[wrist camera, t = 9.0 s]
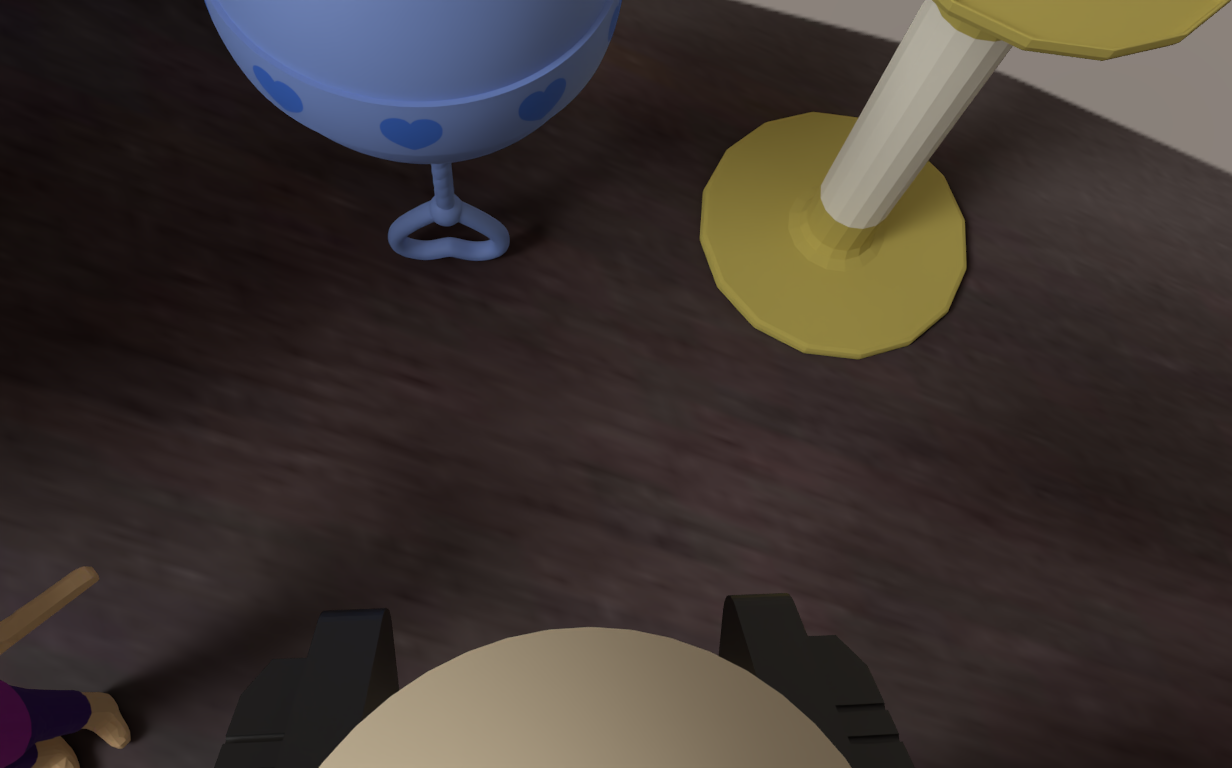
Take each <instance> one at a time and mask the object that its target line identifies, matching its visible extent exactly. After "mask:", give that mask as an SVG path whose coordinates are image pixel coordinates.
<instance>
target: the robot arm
mask: <svg viewBox="0 0 1232 768" xmlns="http://www.w3.org/2000/svg"><path fill="white" fill-rule="evenodd" d="M719 657H721V658H723V659H725V660H727V661H729V662H731V663H733V664H735V665H737V666H739V667H741V668H743V669H745V670H747V671H748V672H750V673H751V674H753V675H754V676H756V677H757V678H759V679H760V680H762V681H763V682H764V683H766V684H767V685H769V686H770V687H772V688H773V689H775V690H776V691H778V692H779V693H780V694H782V695H783V696H784V697H785V698H787V699H788V700H789V701H790V702H791V703H792V704H793V705H794V706H796V707H797V708H798V709H799V710H800V711H801V712H802V713H803V714H805V715H806V716H807V717H808V718H809V719H810V720H811V721H812V722H814V723H815V724H816V725H817V727H818V728H819V729H820V730H821V731H822V732H823V733H824V735H825V736H826V737H827V738H828V739H829V740H830V741H831V743H832V744H833V745H834V746H835V747H836V748H837V749H838V751H839V752H840V753H841V754H842V755H843V756H844V757H845V759H846V760H847V762H848V763H849V765H850V766H851V767H852V768H914V765H913V763H912V761H911V759H910V757H909V755H908V752H907V750H906V748H905V746H904V744H903V742H900V740H899V733H898V731H897V729H896V727H895V724H894V722H893V720H892V718H891V716H890V714H889V711H888V710H885V706H884V701H883V698H882V696H881V694H880V692H879V690H878V688H877V686H876V683H875V681H874V679H873V677H872V675H871V673H870V670H869V668H868V666H867V665H866V664H865V663H864V662H863V661H862V660H861V659H860V658H859V657H858V656H857V655H856V654H855V653H854V652H853V651H852V650H850V649H849V648H848V647H847V646H846V645H845V644H844V643H843V642H842V641H841V640H840V639H839V638H838V637H837V636H836V635H828V636H807V633H806V631H805V628H804V626H803V623H802V621H801V618H800V616H799V613H798V611H797V608H796V606H795V603H794V601H793V599H792V597H791V596H790V595H789V594H787V593H778V594H753V595H729V596H727V597H726V599H725V602H724V608H723V617H722V627H721V637H720V647H719ZM398 691H399V685H398V676H397V667H396V657H395V648H394V639H393V630H392V621H391V616H390V612H389V610H388V609H387V608H380V609H355V610H330V611H323V612H322V613H321V615H320V617H319V619H318V622H317V626H316V629H315V632H314V636H313V639H312V643H311V646H310V649H309V653H308V656H307V658H290V659H272V661H271V662H270V663H269V664H268V665H267V666H266V667H265V668H264V670H263V671H262V672H261V673H260V674H259V675H258V676H257V677H256V678H255V680H254V681H253V682H252V683H251V684H250V685H249V686H248V687H247V689H246V690H245V691H244V692H243V693H242V694H241V696H240V698H239V701H238V704H237V707H236V709H235V712H234V715H233V718H232V720H231V723H230V726H229V728H228V731H227V734H226V743H225V744H223V745H222V748H221V750H220V753H219V756H218V759H217V761H216V764H215V767H214V768H319V767H320V765H321V764H322V763H323V762H324V760H325V759H326V758H327V757H328V756H329V755H330V754H331V753H332V752H333V751H334V750H335V748H336V747H337V746H338V745H339V744H340V743H341V742H342V741H343V740H344V739H345V737H346V736H347V735H348V734H349V733H350V732H351V731H352V730H353V729H354V728H355V727H356V726H357V725H358V724H359V723H360V722H361V721H363V720H364V719H365V718H366V717H367V716H368V715H370V714H371V713H372V712H373V711H374V710H375V709H377V708H378V707H379V706H380V705H381V704H382V703H384V702H385V701H386V700H387V699H388V698H389V697H391V696H392V695H394V694H395V693H397V692H398Z"/></svg>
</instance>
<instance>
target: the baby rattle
mask: <svg viewBox="0 0 1232 768" xmlns="http://www.w3.org/2000/svg"><path fill="white" fill-rule="evenodd" d="M204 1H205V3H206V6H207V9H208V11H209V14H210V16H211V18H212V21H213V23H214V25H215V27H216V29H217V31H218V33H219V35H220V37H221V39H222V40H223V42H224V44H225V46H226V47H227V49H228V51H229V52H230V54H231V55H232V57H233V58H234V60H235V61H236V63H237V64H238V66H239V67H240V68H241V70H242V71H243V72H244V74H245V75H246V76H247V78H248V79H249V80H250V81H251V82H252V84H253V85H254V86H255V87H256V88H257V89H258V90H259V91H260V92H261V93H262V94H263V95H264V96H265V97H266V98H267V99H268V100H269V101H271V102H272V103H273V104H274V105H275V106H277V107H278V108H279V109H280V110H282V111H283V112H284V113H286V114H287V115H289V116H290V117H292V118H293V119H295V120H296V121H298V122H300V123H301V124H303V125H305V126H306V127H308V128H310V129H312V130H314V131H316V132H318V133H320V134H322V135H323V136H325V137H327V138H329V139H331V140H333V141H335V142H337V143H339V144H341V145H343V146H345V147H348V148H350V149H353V150H355V151H358V152H361V153H363V154H367V155H370V156H373V157H377V158H381V159H386V160H390V161H396V162H403V163H412V164H431V166H432V168H431V169H432V175H433V184H434V193H435V196H434V197H433V198H432V199H431V200H430V201H428V202H426V203H424V204H422V205H419V206H417V207H415V208H414V209H412V210H410V211H408V212H407V213H405V214H403V215H402V216H400V217H399V218H398V219H396V220H395V221H394V222H393V223H392V225H391V226H390V228H389V231H388V241H389V244H390V246H391V248H392V249H393V250H394V251H395V252H396V253H398V254H400V255H402V256H405V257H408V258H412V259H418V260H434V259H440V258H445V257H455V258H459V259H464V260H470V261H484V260H491V259H494V258H497V257H500V256H501V255H503V254H504V253H505V252H506V251H507V249H508V247H509V243H510V238H509V233H508V231H507V229H506V228H505V226H504V225H503V224H502V223H500V222H499V221H498V220H496V219H495V218H493V217H492V216H490V215H488V214H487V213H485V212H483V211H481V210H479V209H477V208H475V207H473V206H471V205H469V204H467V203H465V202H462V201H461V200H460V199H459V198H458V197H457V196H456V195H455V194H454V187H453V177H452V166H451V163H453V162H459V161H465V160H470V159H474V158H478V157H481V156H484V155H487V154H490V153H493V152H496V151H498V150H501V149H503V148H505V147H507V146H510V145H512V144H513V143H515V142H517V141H519V140H521V139H522V138H524V137H526V136H527V135H529V134H530V133H532V132H533V131H535V130H536V129H538V128H539V127H540V126H542V125H543V124H544V123H545V122H547V121H548V120H549V119H550V118H551V117H553V116H554V115H556V114H557V113H558V112H559V111H561V110H562V109H563V108H564V107H565V106H567V105H568V104H569V103H570V102H571V101H572V100H573V99H574V98H575V97H576V96H577V95H578V94H579V93H580V92H581V91H582V89H583V88H584V87H585V86H586V84H587V83H588V82H589V80H590V79H591V78H592V76H593V75H594V73H595V72H596V70H597V68H598V66H599V65H600V63H601V61H602V59H603V57H604V55H605V53H606V50H607V48H608V46H609V43H610V41H611V38H612V35H613V32H614V30H615V26H616V23H617V19H618V16H619V12H620V7H621V3H622V0H204ZM433 222H436V223H437V224H439V225H441V226H452V225H455V224H456V223H458V222H459V223H461V224H464V225H466V226H468V227H470V228H472V229H474V230H476V231H478V232H480V233H482V234H483V235H485V236H487V237H488V238H490V240H487V241H479V242H476V241H467V240H463V239H459V238H454V237H446V238H440V239H436V240H428V241H424V240H416V239H412V238H409V237H407V236H408V235H410V234H411V233H413V232H415V231H416V230H418V229H420V228H422V227H424V226H426V225H428V224H430V223H433Z"/></svg>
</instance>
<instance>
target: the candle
mask: <svg viewBox="0 0 1232 768" xmlns="http://www.w3.org/2000/svg"><path fill="white" fill-rule="evenodd" d="M1230 1H1231V0H924V2H923V4H922V5H921V7H920V9H919V11H918V12H917V14H916V16H915V18H914V20H913V21H912V23H911V25H910V27H909V29H908V30H907V32H906V34H905V36H904V38H903V39H902V41H901V43H900V45H899V46H898V48H897V50H896V52H895V53H894V55H893V57H892V59H891V61H890V62H889V64H888V66H887V68H886V70H885V71H884V73H883V75H882V77H881V78H880V80H879V82H878V84H877V86H876V87H875V89H874V91H873V93H872V95H871V96H870V98H869V100H868V102H867V103H866V105H865V107H864V109H863V111H862V112H861V114H860V116H859V118H858V117H850V116H842V115H834V114H827V113H819V112H809V113H805V114H800V115H796V116H791V117H787V118H782V119H778V120H774V121H769V122H765V123H764V124H762V125H761V126H760V127H758V128H757V129H755V130H754V131H752V132H751V133H750V134H748V135H747V136H745V137H744V138H743V139H741V140H740V141H738V142H737V143H735V144H734V145H733V146H731V147H730V148H728V149H727V150H726V152H725V153H724V155H723V157H722V159H721V160H720V162H719V164H718V166H717V167H716V169H715V171H714V173H713V174H712V176H711V178H710V180H709V181H708V183H707V185H706V186H705V188H704V190H703V197H702V212H701V226H700V242H701V245H702V247H703V250H704V253H705V255H706V258H707V261H708V264H709V266H710V269H711V272H712V274H713V277H714V280H715V282H716V285H717V287H718V289H719V290H720V291H721V292H722V293H723V294H724V295H725V296H726V297H727V298H728V300H729V301H730V302H731V303H732V304H733V305H734V306H735V307H736V308H737V309H738V311H739V312H740V313H741V314H742V315H743V316H744V317H745V318H746V319H747V320H748V322H749V323H750V324H751V325H752V326H753V327H754V328H756V329H758V330H760V331H762V332H764V333H766V334H768V335H770V336H772V337H774V338H775V339H777V340H779V341H781V342H783V343H785V344H787V345H789V346H791V347H793V348H795V349H797V350H799V351H801V352H803V353H808V354H816V355H825V356H834V357H842V358H851V359H862V358H865V357H869V356H872V355H876V354H880V353H883V352H887V351H890V350H894V349H898V348H901V347H905V346H908V345H910V344H911V343H912V342H913V341H914V340H916V339H917V338H918V337H919V336H920V335H921V334H923V333H924V332H925V331H926V330H927V329H929V328H930V327H931V326H932V325H933V324H935V323H936V322H937V321H938V320H939V319H940V318H942V317H943V316H944V315H945V314H946V313H947V312H948V310H949V308H950V306H951V303H952V301H953V299H954V297H955V294H956V292H957V290H958V287H959V285H960V283H961V281H962V278H963V276H964V274H965V271H966V240H965V220H964V218H963V215H962V213H961V211H960V209H959V207H958V205H957V203H956V200H955V198H954V196H953V194H952V192H951V190H950V188H949V185H948V183H947V181H946V179H945V177H944V175H943V174H942V173H941V172H939V171H938V170H937V169H936V168H935V167H934V166H933V165H932V164H931V163H930V162H929V161H928V160H929V159H930V157H931V156H932V155H933V153H934V152H935V151H936V149H937V148H938V147H939V145H940V144H941V143H942V141H943V140H944V138H945V137H946V136H947V134H948V133H949V132H950V130H951V129H952V128H953V126H954V125H955V124H956V122H957V121H958V119H959V118H960V117H961V115H962V114H963V113H964V111H965V110H966V109H967V107H968V106H969V105H970V103H971V102H972V100H973V99H974V98H975V96H976V95H977V94H978V92H979V91H980V90H981V88H982V87H983V86H984V84H985V83H986V81H987V80H988V79H989V77H990V76H991V75H992V73H993V72H994V71H995V69H996V68H997V67H998V65H999V64H1000V62H1001V61H1002V60H1003V58H1004V57H1005V56H1006V54H1007V53H1008V52H1009V50H1010V49H1011V48H1012V46H1015V47H1017V48H1019V49H1021V50H1025V51H1033V52H1040V53H1048V54H1056V55H1062V56H1070V57H1077V58H1085V59H1092V60H1100V61H1103V60H1108V59H1112V58H1117V57H1121V56H1125V55H1130V54H1135V53H1139V52H1143V51H1148V50H1152V49H1157V48H1161V47H1165V46H1170V45H1173V44H1176V43H1179V42H1181V41H1182V40H1183V39H1184V38H1185V37H1187V36H1188V35H1189V34H1190V33H1192V32H1193V31H1194V30H1195V29H1197V28H1198V27H1199V26H1200V25H1201V24H1203V23H1204V22H1205V21H1207V20H1208V19H1209V18H1210V17H1212V16H1213V15H1214V14H1215V13H1217V12H1218V11H1219V10H1220V9H1221V8H1223V7H1224V6H1225V5H1226V4H1227V3H1229V2H1230Z"/></svg>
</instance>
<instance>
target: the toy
mask: <svg viewBox="0 0 1232 768" xmlns="http://www.w3.org/2000/svg"><path fill="white" fill-rule="evenodd" d="M98 580H99V576H98V574H97V573H96V571H95V570H94V569H93V568H92V567H84V566H83V567H81V568H79V569H76V570H74V571H73V572H71V573H70V574H68V575H67V576H65V577H64V578H63V579H61V580H60V581H58V582H57V583H56V584H54V585H53V586H51V587H50V588H49V589H47V590H46V591H44V592H43V593H42V594H40V595H39V596H37V597H36V598H35V599H33V600H32V601H30V602H29V603H27V604H26V605H24V606H23V607H21V608H20V609H18V610H17V611H16V612H15V613H13V614H12V615H11V616H9V617H8V618H6V619H4V620H3V621H1V622H0V655H1V654H2V653H4V652H5V651H6V650H7V649H8V648H10V647H11V646H12V645H13V644H15V643H16V642H18V641H19V640H20V639H22V638H23V637H24V636H26V635H27V634H28V633H29V632H31V631H32V630H33V629H35V628H36V627H37V626H39V625H40V624H41V623H43V622H44V621H45V620H47V619H48V618H49V617H51V616H52V615H53V614H55V613H56V612H57V611H59V610H60V609H61V608H63V607H64V606H65V605H67V604H68V603H69V602H71V601H72V600H73V599H74V598H76V597H77V596H78V595H80V594H81V593H82V592H84V591H85V590H86V589H88V588H89V587H90V586H92V585H93V584H94V583H96V582H97V581H98ZM81 729H88V730H91V731H93V732H95V733H96V734H97V735H98V736H100V737H101V738H102V739H103V740H105V741H106V742H107V743H108V744H109V745H111V746H113V747H116V748H119V749H121V748H124V747H125V746H126V745H127V744H128V743H129V742H130V741H131V739H130V730H129V728H128V726H127V724H126V722H125V721H124V719H123V717H122V715H121V714H120V712H119V708H118V705H117V704H116V702H115V700H114V699H113V698H112V697H111V696H110V695H109V694H107V693H101V692H79V691H75V690H37V689H24V688H20V687H15V686H10V685H8V684H7V683H5V682H3V681H1V680H0V768H80V766H79V762H78V759H77V757H76V755H75V753H74V751H73V749H72V748H71V747H70V746H69V745H68V744H67V742H66V741H65V740H64V739H63V738H62V737H61V736H62V735H66V734H71V733H75V732H77V731H79V730H81Z"/></svg>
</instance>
